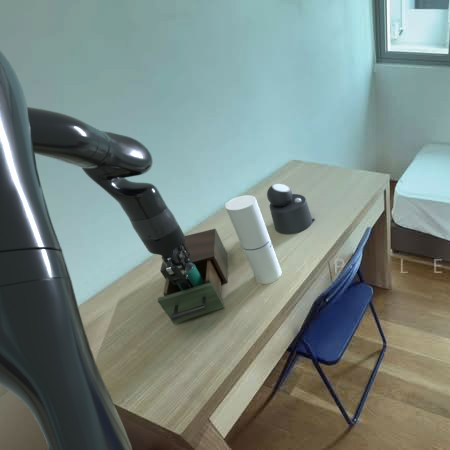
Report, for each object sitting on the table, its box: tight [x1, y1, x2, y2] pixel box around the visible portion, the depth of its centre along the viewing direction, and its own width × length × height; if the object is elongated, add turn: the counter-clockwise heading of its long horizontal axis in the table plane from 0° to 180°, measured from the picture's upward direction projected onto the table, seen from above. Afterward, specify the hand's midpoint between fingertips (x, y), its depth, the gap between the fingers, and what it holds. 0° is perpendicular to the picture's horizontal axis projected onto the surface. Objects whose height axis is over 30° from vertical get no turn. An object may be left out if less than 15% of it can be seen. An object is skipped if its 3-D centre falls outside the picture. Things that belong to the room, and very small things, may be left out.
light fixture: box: [266, 183, 316, 235], centre depth 108 cm, size 13×16×14 cm
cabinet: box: [160, 228, 228, 285], centre depth 89 cm, size 15×13×10 cm
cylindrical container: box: [224, 194, 283, 285], centre depth 83 cm, size 7×7×25 cm
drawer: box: [157, 259, 225, 325], centre depth 79 cm, size 18×11×8 cm, turn 25°
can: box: [177, 263, 205, 291], centre depth 78 cm, size 5×5×7 cm
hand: (190, 281), depth 79 cm, fingers closed on can, 5 cm apart
